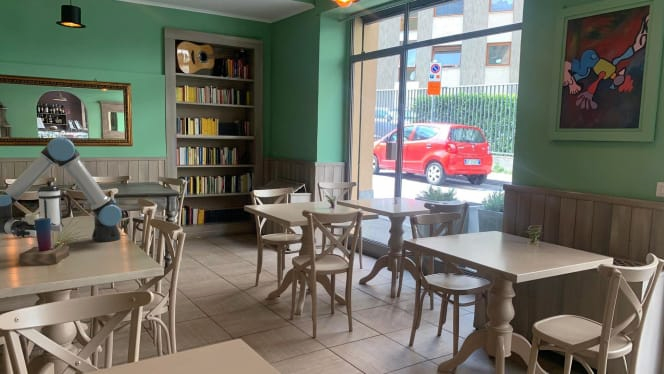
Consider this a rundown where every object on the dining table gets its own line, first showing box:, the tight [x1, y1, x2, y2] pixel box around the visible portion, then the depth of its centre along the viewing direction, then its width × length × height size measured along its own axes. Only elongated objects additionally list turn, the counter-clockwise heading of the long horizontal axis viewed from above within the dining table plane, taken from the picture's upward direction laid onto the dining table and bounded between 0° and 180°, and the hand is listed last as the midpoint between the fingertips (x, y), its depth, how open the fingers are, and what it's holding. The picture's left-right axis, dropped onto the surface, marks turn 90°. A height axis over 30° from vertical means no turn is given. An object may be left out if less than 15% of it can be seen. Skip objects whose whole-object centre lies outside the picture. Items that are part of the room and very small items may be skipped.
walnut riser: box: [18, 245, 70, 266], centre depth 245 cm, size 16×16×5 cm
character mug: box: [21, 213, 43, 236], centre depth 299 cm, size 11×7×13 cm, turn 118°
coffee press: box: [35, 180, 72, 228], centre depth 327 cm, size 17×16×30 cm
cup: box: [34, 218, 52, 251], centre depth 244 cm, size 7×7×15 cm
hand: (48, 231), depth 242 cm, fingers open, 13 cm apart
